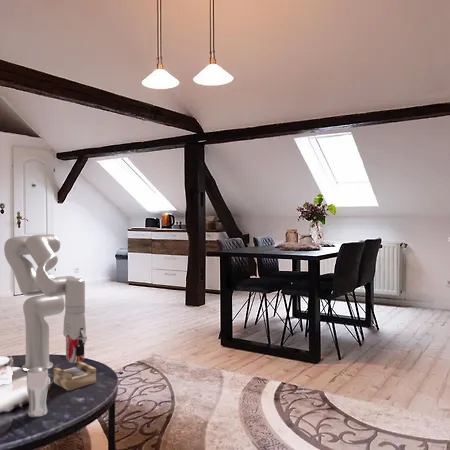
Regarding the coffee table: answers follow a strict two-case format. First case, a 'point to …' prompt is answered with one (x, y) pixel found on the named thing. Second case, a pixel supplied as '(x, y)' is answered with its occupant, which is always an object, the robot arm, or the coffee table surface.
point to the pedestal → (75, 376)
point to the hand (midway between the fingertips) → (75, 353)
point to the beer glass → (37, 391)
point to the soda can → (72, 351)
